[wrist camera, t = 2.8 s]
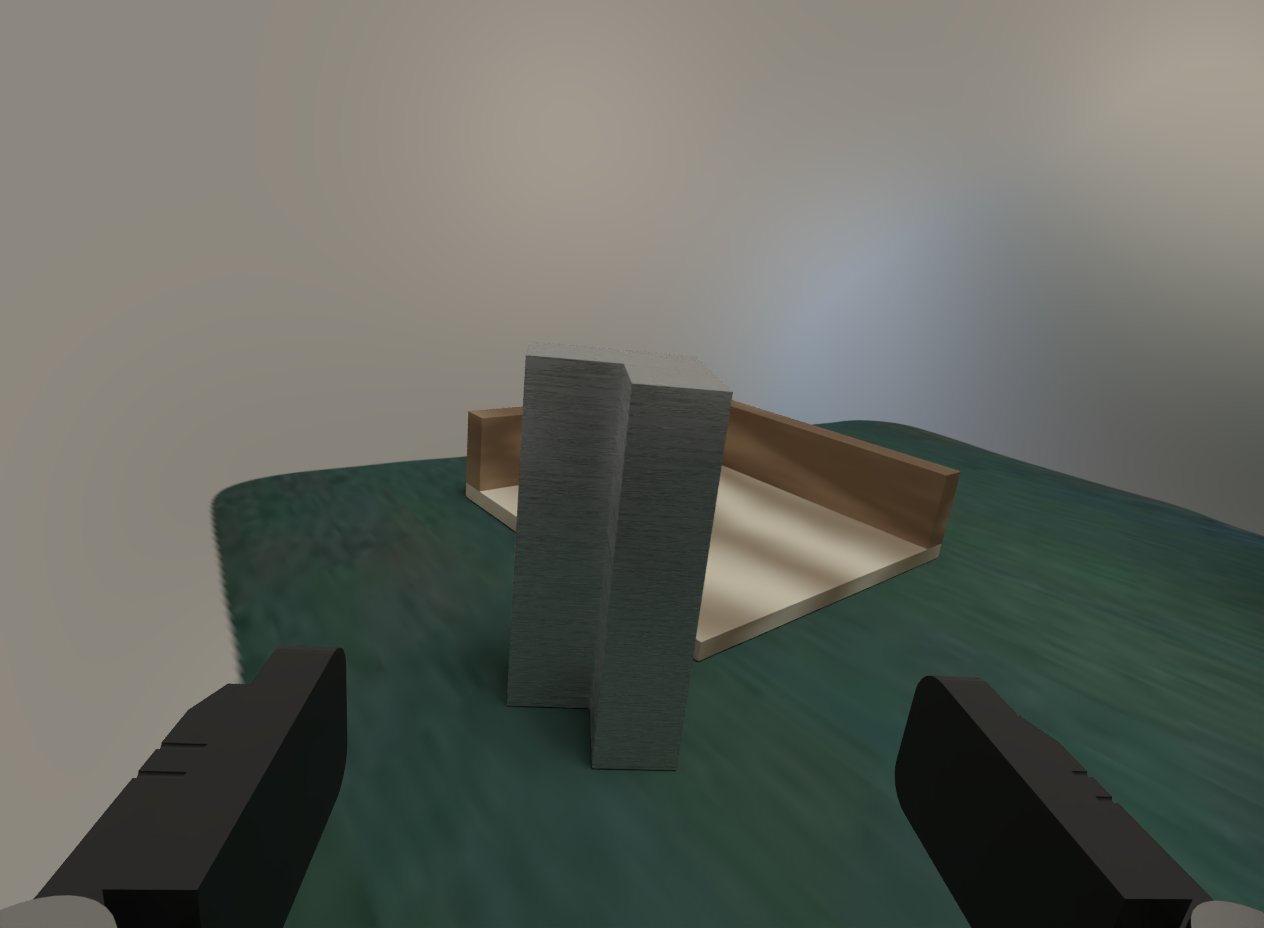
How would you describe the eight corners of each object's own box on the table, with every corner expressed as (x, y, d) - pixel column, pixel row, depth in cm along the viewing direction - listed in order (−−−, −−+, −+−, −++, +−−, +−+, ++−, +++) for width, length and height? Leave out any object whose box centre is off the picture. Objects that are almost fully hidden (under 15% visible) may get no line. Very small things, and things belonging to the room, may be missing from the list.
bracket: (655, 665, 24) (696, 356, 21) (676, 769, 20) (732, 391, 16) (512, 660, 24) (530, 341, 20) (498, 766, 19) (518, 373, 16)
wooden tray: (697, 457, 49) (706, 392, 48) (937, 557, 36) (960, 471, 35) (465, 496, 38) (468, 411, 36) (698, 661, 25) (716, 540, 23)
